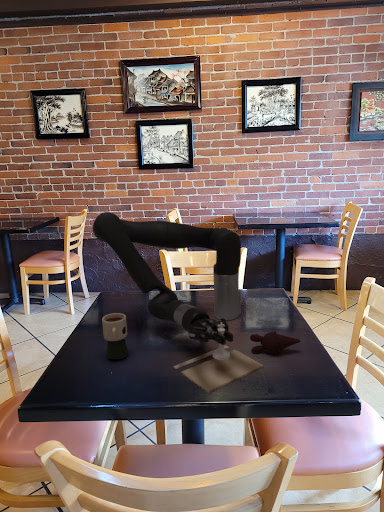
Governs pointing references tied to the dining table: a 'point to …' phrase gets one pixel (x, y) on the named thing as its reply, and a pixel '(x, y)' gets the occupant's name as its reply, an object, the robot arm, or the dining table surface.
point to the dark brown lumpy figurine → (272, 342)
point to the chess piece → (221, 347)
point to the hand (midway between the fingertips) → (228, 339)
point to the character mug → (115, 335)
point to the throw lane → (219, 370)
